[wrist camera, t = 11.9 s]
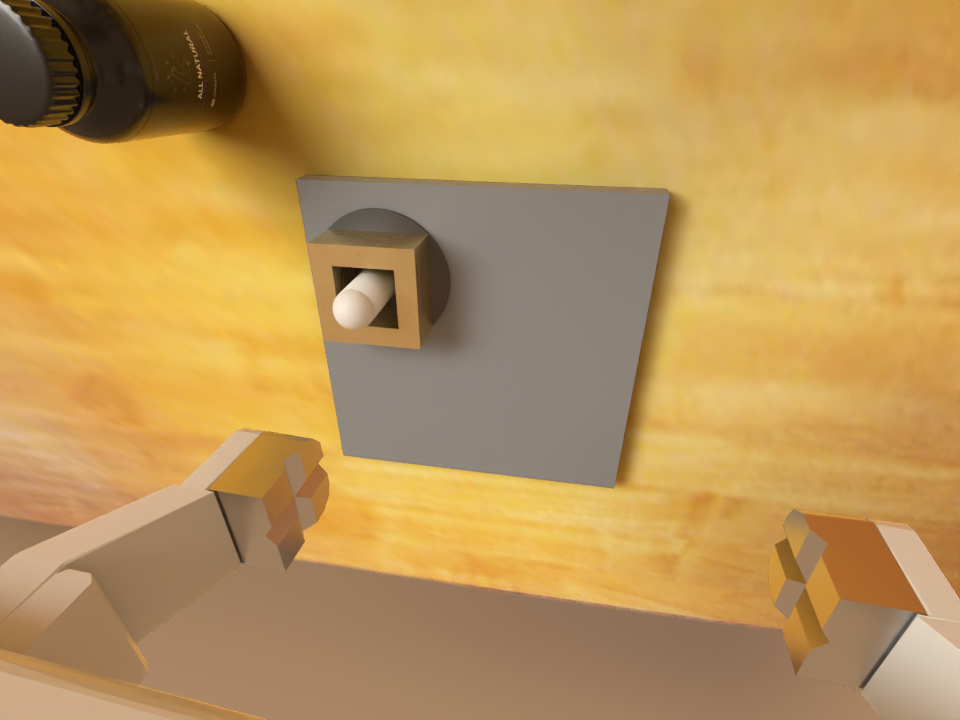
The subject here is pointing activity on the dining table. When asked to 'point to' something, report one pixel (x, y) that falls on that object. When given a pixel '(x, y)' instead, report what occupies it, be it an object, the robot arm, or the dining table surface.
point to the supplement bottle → (117, 68)
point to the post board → (496, 323)
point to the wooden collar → (374, 251)
